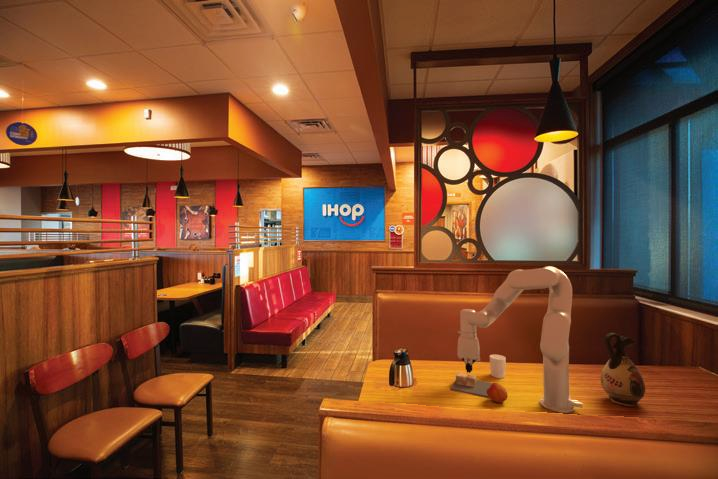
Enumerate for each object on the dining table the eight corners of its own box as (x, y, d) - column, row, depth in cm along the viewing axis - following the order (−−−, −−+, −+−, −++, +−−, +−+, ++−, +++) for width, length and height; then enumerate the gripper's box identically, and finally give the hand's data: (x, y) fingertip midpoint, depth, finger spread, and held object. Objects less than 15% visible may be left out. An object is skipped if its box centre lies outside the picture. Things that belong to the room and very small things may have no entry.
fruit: (494, 395, 153) (493, 378, 153) (510, 402, 147) (510, 384, 147) (484, 400, 148) (483, 382, 149) (501, 407, 142) (500, 388, 142)
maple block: (476, 376, 164) (457, 372, 169) (474, 378, 161) (455, 375, 166) (476, 384, 164) (457, 380, 169) (474, 387, 161) (455, 383, 165)
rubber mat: (494, 384, 165) (494, 383, 165) (490, 397, 151) (490, 396, 151) (457, 378, 173) (457, 376, 173) (450, 389, 159) (450, 388, 159)
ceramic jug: (624, 393, 154) (623, 328, 155) (655, 409, 139) (653, 338, 139) (589, 394, 154) (587, 329, 154) (616, 411, 138) (615, 338, 139)
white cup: (486, 374, 178) (486, 355, 178) (497, 372, 181) (497, 353, 182) (498, 379, 171) (498, 360, 171) (509, 377, 174) (509, 358, 174)
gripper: (451, 334, 165) (451, 371, 164) (483, 338, 158) (483, 377, 157) (454, 331, 171) (455, 366, 171) (485, 334, 164) (486, 371, 164)
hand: (469, 371), depth 164 cm, fingers closed
